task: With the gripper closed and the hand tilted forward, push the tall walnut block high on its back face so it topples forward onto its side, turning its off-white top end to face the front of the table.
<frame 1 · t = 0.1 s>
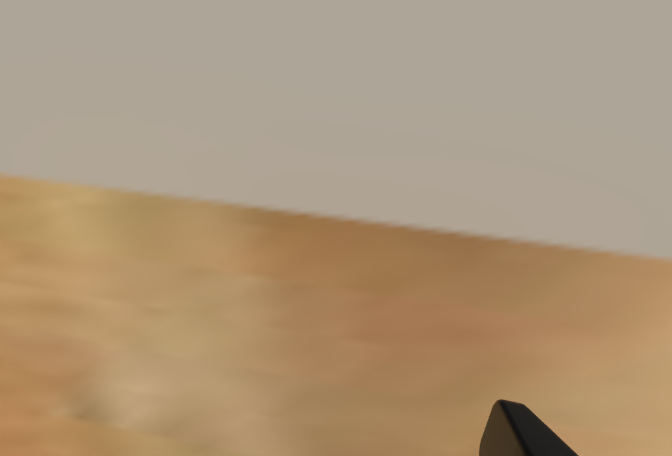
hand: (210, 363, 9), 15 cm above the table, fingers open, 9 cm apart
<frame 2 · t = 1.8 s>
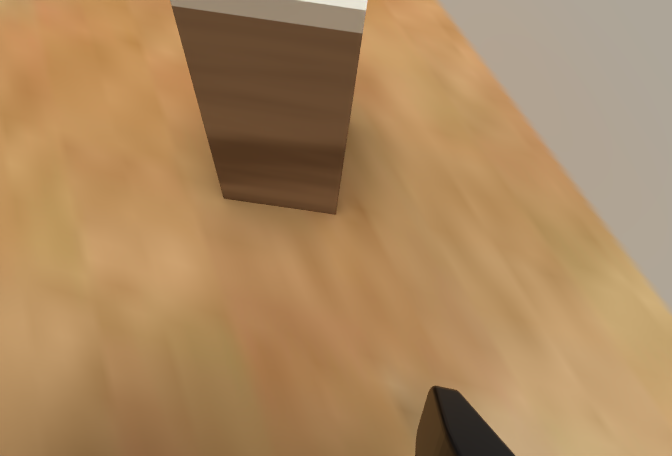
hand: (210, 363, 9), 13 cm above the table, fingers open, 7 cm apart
walnut block: (288, 157, 26), on the table
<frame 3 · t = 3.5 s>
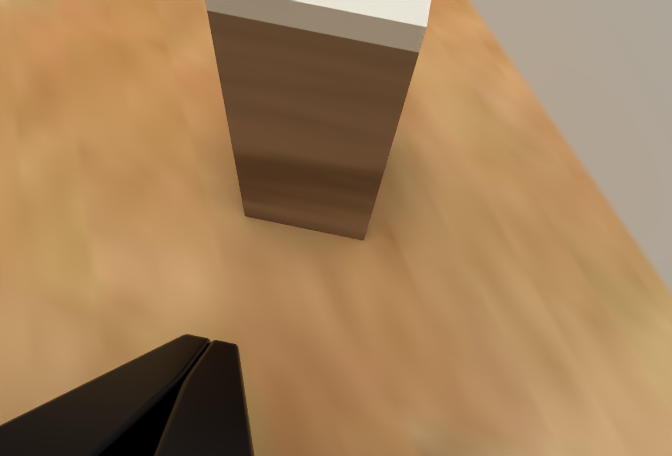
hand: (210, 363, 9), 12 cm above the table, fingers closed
walnut block: (316, 176, 24), on the table
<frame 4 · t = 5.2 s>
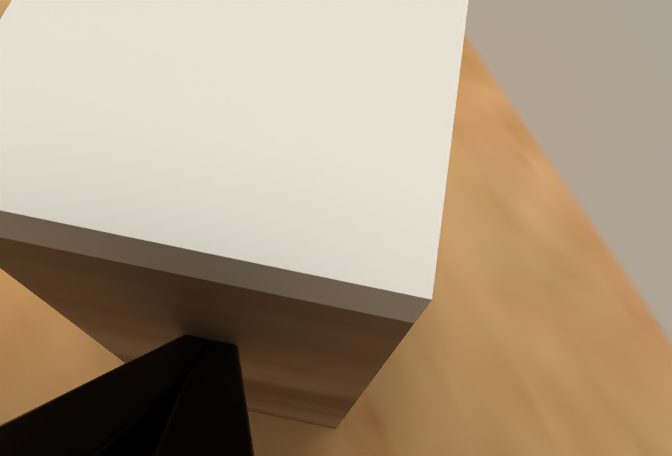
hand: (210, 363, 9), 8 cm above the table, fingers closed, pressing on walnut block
walnut block: (270, 326, 17), on the table, touching gripper
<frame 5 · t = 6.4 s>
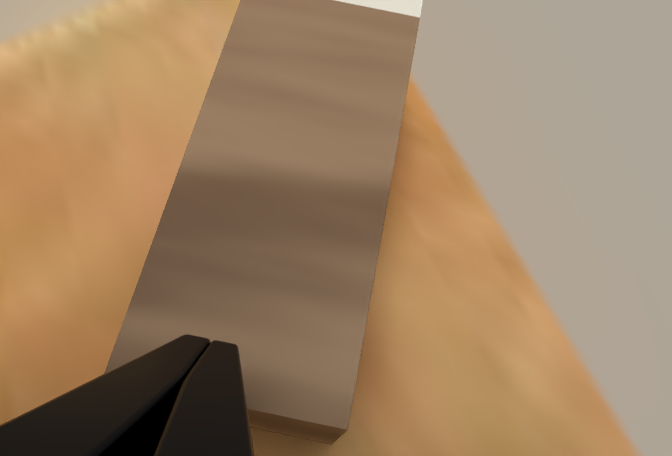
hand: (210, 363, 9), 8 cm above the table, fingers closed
walnut block: (236, 416, 13), point 2 cm above the table, tilted 90°
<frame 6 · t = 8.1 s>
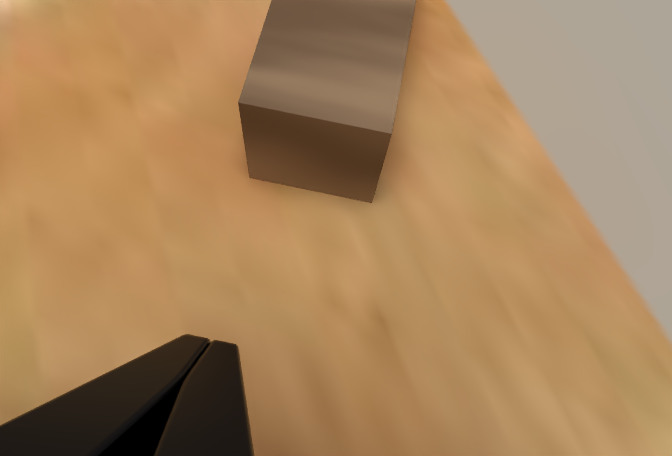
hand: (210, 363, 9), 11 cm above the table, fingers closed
walnut block: (312, 158, 20), point 2 cm above the table, tilted 90°
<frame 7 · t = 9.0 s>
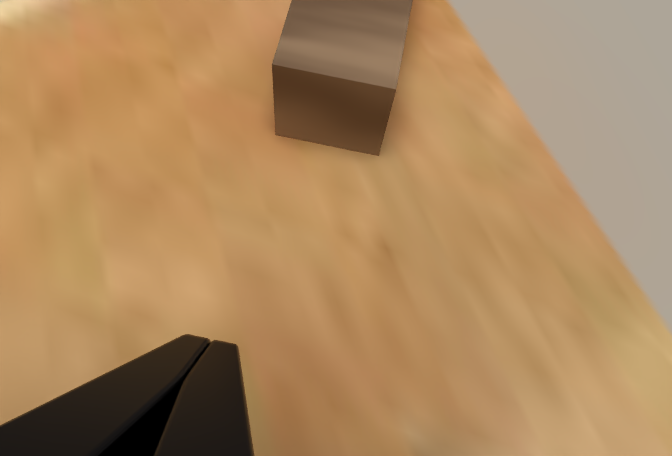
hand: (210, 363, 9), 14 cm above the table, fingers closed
walnut block: (330, 114, 24), point 2 cm above the table, tilted 90°
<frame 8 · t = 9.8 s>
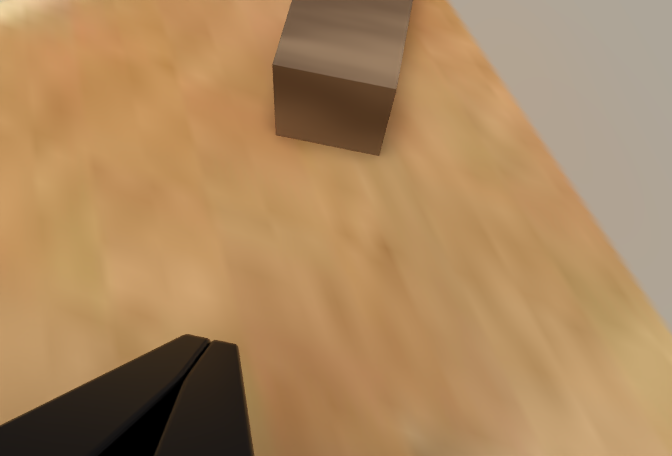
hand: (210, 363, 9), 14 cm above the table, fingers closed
walnut block: (330, 114, 24), point 2 cm above the table, tilted 90°
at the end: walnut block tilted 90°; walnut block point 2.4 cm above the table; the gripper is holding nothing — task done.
